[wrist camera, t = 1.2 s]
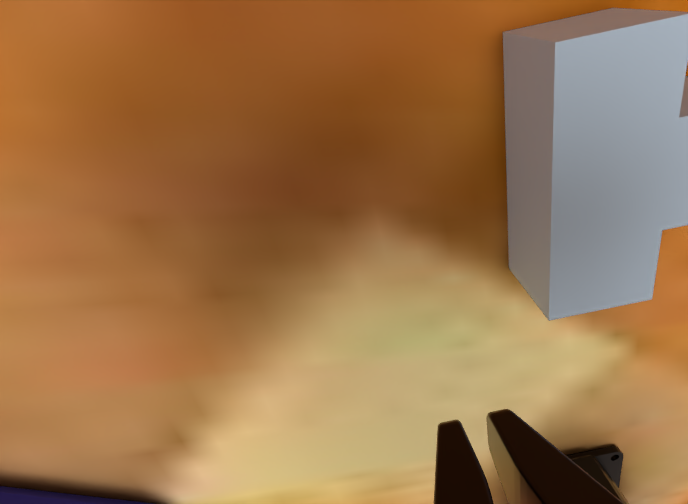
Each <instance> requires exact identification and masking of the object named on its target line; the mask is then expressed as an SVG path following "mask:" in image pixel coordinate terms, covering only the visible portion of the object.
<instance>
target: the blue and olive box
mask: <svg viewBox="0 0 688 504" xmlns="http://www.w3.org/2000/svg"><path fill="white" fill-rule="evenodd" d="M0 504H154V503H145V502H136V501H127V500H119V499H110V498H101V497H92V496H84V495H75V494H66V493H57V492H49V491H40V490H31V489H22V488H14V487H5V486H0Z"/></svg>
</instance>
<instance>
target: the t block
mask: <svg viewBox="0 0 688 504" xmlns="http://www.w3.org/2000/svg"><path fill="white" fill-rule="evenodd" d="M503 59H504V97H505V136H506V174H507V213H508V251H509V269H510V271H511V272H512V273H513V274H514V276H515V277H516V278H517V280H518V281H519V282H520V284H521V285H522V286H523V287H524V289H525V290H526V291H527V293H528V294H529V295H530V297H531V298H532V299H533V301H534V302H535V303H536V304H537V306H538V307H539V308H540V310H541V311H542V312H543V314H544V315H545V316H546V318H547V319H548V320H554V319H559V318H564V317H569V316H574V315H578V314H583V313H588V312H593V311H598V310H603V309H607V308H612V307H617V306H622V305H627V304H631V303H636V302H641V301H646V300H651V299H652V296H653V289H654V282H655V276H656V269H657V262H658V256H659V249H660V242H661V236H662V230H666V229H671V228H676V227H680V226H685V225H688V76H687V77H685V75H686V68H687V62H688V12H678V11H660V10H642V9H624V8H610V9H606V10H601V11H597V12H592V13H587V14H583V15H578V16H574V17H569V18H564V19H560V20H555V21H551V22H546V23H541V24H537V25H532V26H528V27H523V28H518V29H514V30H509V31H505V32H503Z"/></svg>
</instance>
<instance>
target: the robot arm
mask: <svg viewBox="0 0 688 504" xmlns="http://www.w3.org/2000/svg"><path fill="white" fill-rule="evenodd" d="M487 431H488V444H489V449H490V452H491V455H492V458H493V461H494V464H495V467H496V470H497V472H498V475H499V478H500V481H501V484H502V487H503V489H504V492H505V495H506V498H507V501H508V503H509V504H629V503H628V502H627V500H626V499H625V497H624V496H623V494H622V493H621V491H620V490H619V482H620V475H621V468H622V461H623V453H622V452H621V451H620V449H619V448H618V447H616V446H611V447H606V448H602V449H597V450H593V451H588V452H583V453H579V454H574V455H569V456H566V455H565V454H563V453H562V452H561V451H560V450H558V449H557V448H556V447H555V446H554V445H552V444H551V443H550V442H549V441H548V440H546V439H545V438H544V437H543V436H541V435H540V434H539V433H538V432H537V431H535V430H534V429H533V428H532V427H531V426H529V425H528V424H527V423H526V422H524V421H523V420H522V419H521V418H520V417H518V416H517V415H516V414H515V413H513V412H512V411H511V410H508V409H503V410H498V411H494V412H490V413H488V415H487ZM434 504H493V500H492V496H491V493H490V489H489V486H488V483H487V480H486V477H485V475H484V472H483V470H482V468H481V465H480V463H479V461H478V459H477V457H476V455H475V452H474V450H473V448H472V446H471V444H470V441H469V439H468V437H467V435H466V433H465V430H464V428H463V426H462V424H461V422H460V421H459V420H452V421H447V422H443V423H440V424H439V425H438V432H437V451H436V471H435V490H434Z"/></svg>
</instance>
